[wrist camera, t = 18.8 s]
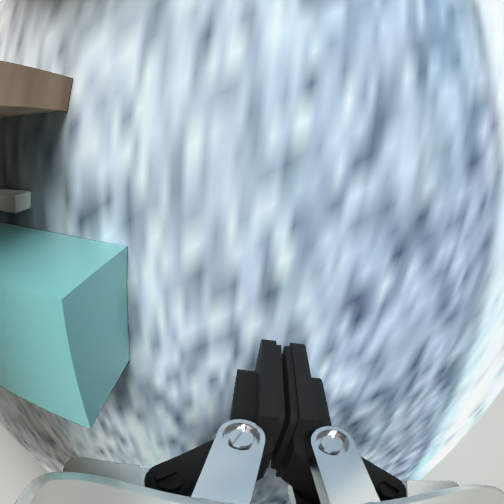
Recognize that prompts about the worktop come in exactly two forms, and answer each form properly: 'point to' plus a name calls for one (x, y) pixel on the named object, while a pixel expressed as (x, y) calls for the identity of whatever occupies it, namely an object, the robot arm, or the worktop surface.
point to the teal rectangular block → (62, 320)
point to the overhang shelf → (28, 109)
